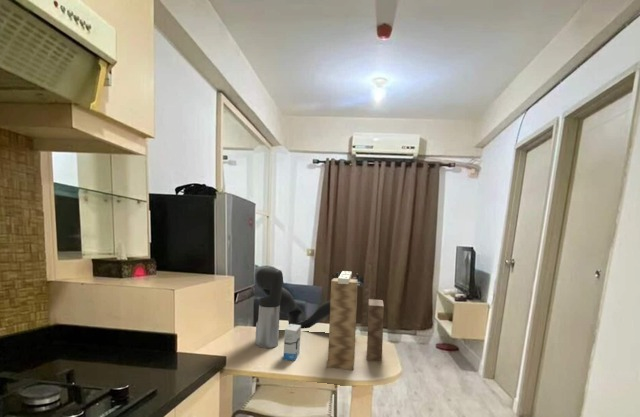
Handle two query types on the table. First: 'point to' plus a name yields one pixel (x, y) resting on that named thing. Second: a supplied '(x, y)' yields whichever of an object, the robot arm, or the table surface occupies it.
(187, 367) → the table surface
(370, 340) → the walnut post
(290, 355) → the ink box
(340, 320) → the oak post
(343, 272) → the long ivory domino tile
